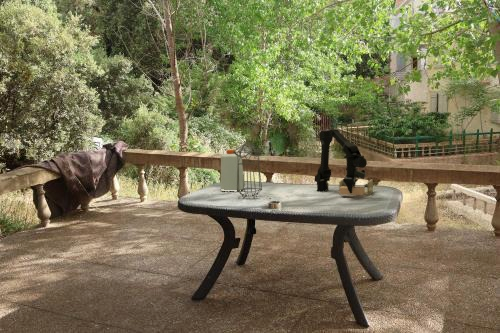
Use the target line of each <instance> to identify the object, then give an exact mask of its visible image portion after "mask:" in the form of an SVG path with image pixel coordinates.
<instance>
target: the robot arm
mask: <svg viewBox="0 0 500 333" xmlns="http://www.w3.org/2000/svg"><path fill="white" fill-rule="evenodd" d="M318 137H319V142H320V143H321V147H320V148H321V152H320V166H319V167H318V169H317V173H316V175H315V176H314V178H313V179H314V182H316V190H315V191H316V192H327V191H328V190H329V183H328V182H330V180H331V176H332V168H330V167H329V163H330V162H329V160H330V159H329V158H330V145H331V143H332V141H333V138H334V139H335V141H336V142H337V143H338V144H339V145H340V146H341V147H342V151H343V153H344V154H345V156H343V158H344V159H346V161H345V162H346V168H345V170H346V175H345V177H344V178H342V179H343V182H345V184H346V186H347V188H348V190H349V192H350V193H352V188H353V186H354V187H356V184H357V182H358V181H359V179H361V180H364V179H366V176H367V172H366V170H365V169H364V168H365V167H367V165H368V161H367V159H366V158H365V156H364V155H362V154H361V151H360V150H359V148H358V146H357V145H356V143H353V142H351V141H350V140H348V139H347V138H346V137H345V136H344V135H343V133H341V132H340V131H339V129H338V128H332V129H329V130H328V129H325V130H321V131H320V132H319V135H318ZM358 168H362V169H361V170H359V169H358Z"/></svg>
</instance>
